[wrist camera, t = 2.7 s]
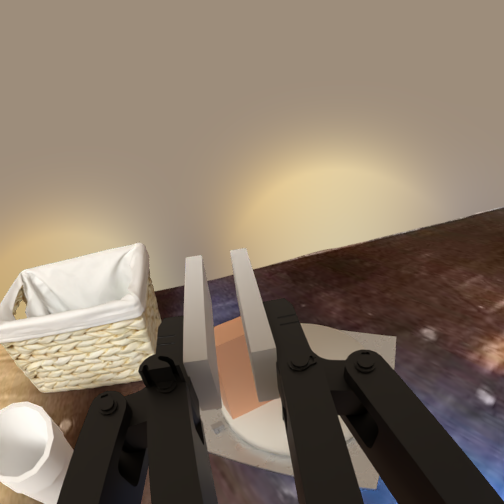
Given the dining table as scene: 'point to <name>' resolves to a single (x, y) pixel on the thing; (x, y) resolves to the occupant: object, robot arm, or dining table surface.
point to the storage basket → (83, 320)
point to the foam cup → (32, 452)
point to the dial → (244, 391)
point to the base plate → (238, 450)
